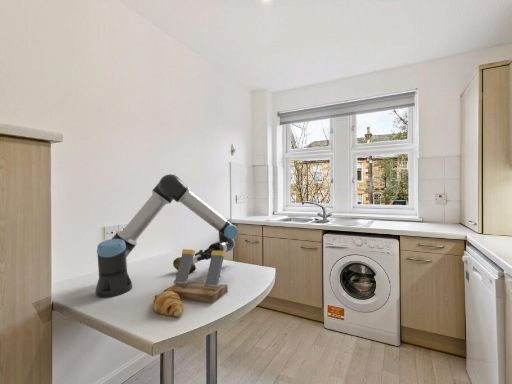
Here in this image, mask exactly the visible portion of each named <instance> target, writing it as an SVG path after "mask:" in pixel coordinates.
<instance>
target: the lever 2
mask: <svg viewBox="0 0 512 384" xmlns="http://www.w3.org/2000/svg"><path fill="white" fill-rule="evenodd" d="M211 255H212V256H211V259H210V262H209V265H208V266H209V267H208V272H207V275H206V280H205V282H204V283H205V284H204V287H211V288H219V284H220V277H221V274H222V273H221V272H222V268H223V267H222V266H223V262H224V257H225V255H226V253H225V252H224V251H212V253H211Z"/></svg>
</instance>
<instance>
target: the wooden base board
mask: <svg viewBox="0 0 512 384" xmlns="http://www.w3.org/2000/svg"><path fill="white" fill-rule="evenodd" d="M187 281H188V284H187V285H181V284H173V285H171V286H169V287H167V288H165V289H164V291H163V292H165V291H167V290H168V291H173V292H175V293H177V294H178V295H179V297H180V299H181V300H184V301H191V302H192V301H193V302H201V303H206V304H207V303H209V304H214V303H215V302H217V301H218V300H219V299H220V298H222V297H223V296H224V295H225V294H227V293H228V284H223V283H219V288H211V287H204V284H205V283H206V282H202V281H192V280H187Z"/></svg>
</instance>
